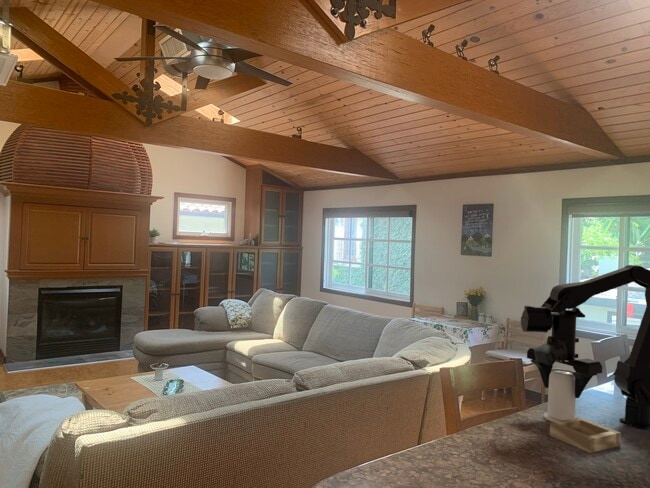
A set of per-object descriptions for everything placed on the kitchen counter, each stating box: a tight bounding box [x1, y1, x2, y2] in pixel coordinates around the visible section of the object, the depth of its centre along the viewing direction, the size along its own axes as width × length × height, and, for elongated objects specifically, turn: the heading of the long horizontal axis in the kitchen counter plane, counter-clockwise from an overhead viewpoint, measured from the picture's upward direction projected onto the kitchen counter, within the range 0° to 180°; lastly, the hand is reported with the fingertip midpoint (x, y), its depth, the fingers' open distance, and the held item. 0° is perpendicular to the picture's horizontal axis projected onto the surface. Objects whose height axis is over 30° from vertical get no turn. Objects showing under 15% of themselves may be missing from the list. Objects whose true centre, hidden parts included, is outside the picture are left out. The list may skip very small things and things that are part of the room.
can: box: [546, 368, 577, 421], centre depth 130 cm, size 6×6×12 cm
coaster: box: [543, 411, 577, 423], centre depth 130 cm, size 8×8×1 cm
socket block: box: [549, 417, 622, 454], centre depth 116 cm, size 10×10×3 cm
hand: (561, 392), depth 130 cm, fingers open, 9 cm apart
